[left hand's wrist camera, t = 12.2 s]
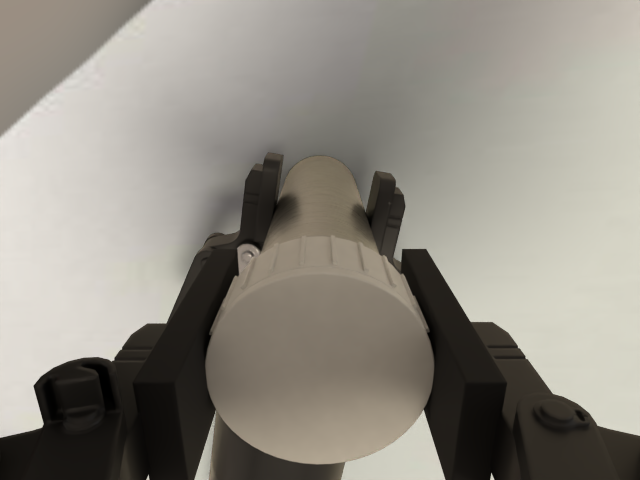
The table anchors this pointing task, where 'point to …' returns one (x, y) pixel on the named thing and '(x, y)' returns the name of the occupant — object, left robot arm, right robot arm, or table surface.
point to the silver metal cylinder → (319, 205)
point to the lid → (319, 352)
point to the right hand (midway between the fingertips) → (329, 167)
